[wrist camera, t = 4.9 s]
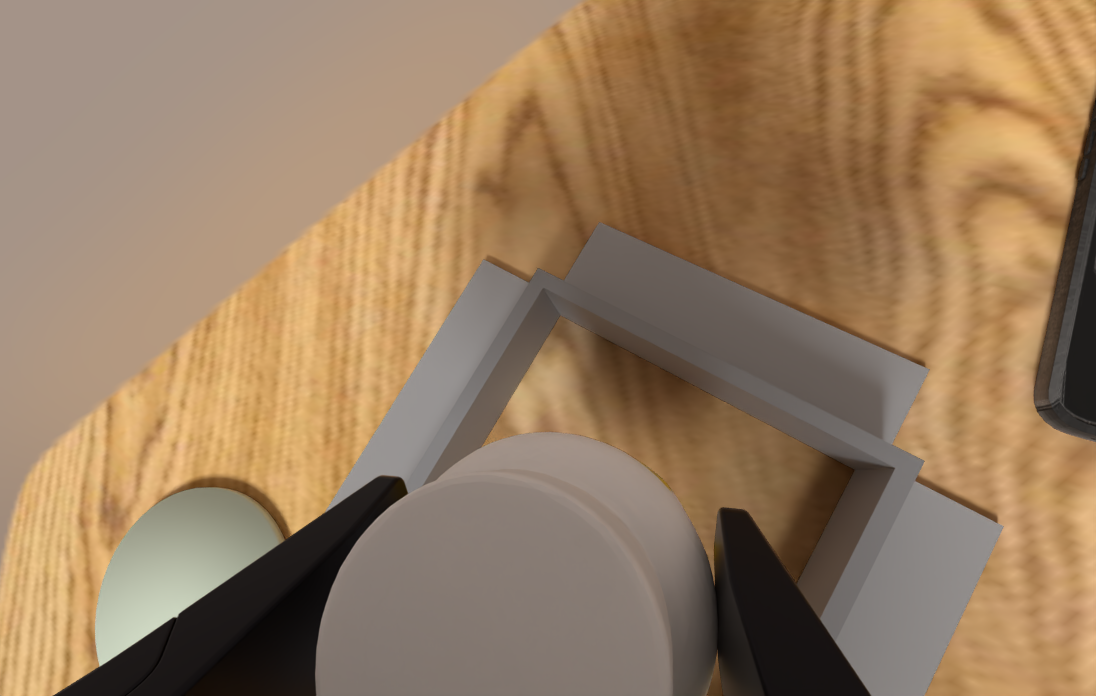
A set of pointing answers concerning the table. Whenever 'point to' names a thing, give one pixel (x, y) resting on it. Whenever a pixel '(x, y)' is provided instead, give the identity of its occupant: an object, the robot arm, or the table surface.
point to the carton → (746, 383)
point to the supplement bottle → (525, 583)
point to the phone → (1074, 317)
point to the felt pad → (177, 561)
